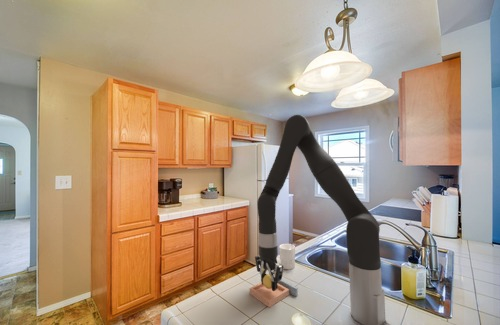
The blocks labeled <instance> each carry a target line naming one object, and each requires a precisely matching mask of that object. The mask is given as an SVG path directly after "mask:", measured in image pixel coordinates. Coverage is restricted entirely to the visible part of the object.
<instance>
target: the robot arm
mask: <svg viewBox="0 0 500 325" xmlns="http://www.w3.org/2000/svg"><path fill="white" fill-rule="evenodd" d="M297 148H298V149H299V150H300V152H301V154H302V155H303V156H304V159H305V161H306V163H307V166H308V168H309V170H310V171H311V173H312V176H313V177H314V179H315V180H316V182H317V183H318V185H319V187H320V188H321V190H322V191H323V192H324V193H325V194H326V195H327V196H328V197H329V198H330V199H331V200H332V201H333V202H334V203H335V204H336V205H337V207H339V209H340V210H341V212H342V213H343V215H344V217H345V219H346V221H347V224H346V232H345V235H346V250H347V255H348V268H349V270H348V274H349V298H350V299H349V300H350V315H351V317H352V318H353V320H355V321H356V322H358V323H359V324H361V325H383V324H384V323H385V322H386V303H385V301H386V298H385V290H384V288H383V287H382V286H383V285H382V284H383V283H382V268H381V267H382V266H381V265H382V262H381V261H382V260H381V253H380V252H381V251H380V250H381V249H380V230H381V229H380V224H379V222H378V220H377V219H376V218H375V217H374V215H373V214H372V213H371V212H370V210H369V209H367V207H366V205H364V203H363V202H362V201H361V200H360V198H359V197H358V196H357V194H356V193H355V190H354V188H353V187H352V186H351V184H350V182H349V180H348V179H347V178H346V176H345V174H344V173H343V171H342V170H341V168H340V167H339V165H338V164H337V162H336V161H335V160H334V158H332V156H331V155H330V154H329V153H328V152H327V151H326V150H325V149H324V148H323V147H322V146H321V144H320V143H319V142H318V139H317V138H316V137H315V135H314V133H313V131H312V128H311V125H310V123H309V121H308V120H307V117H305V116H304V115H302V114H294V115H291V116H290V117H289V118H288V119H287V120H286V122H285V124H284V129H283V132H282V137H281V142H280V145H279V147H278V151H277V152H276V156H275V159H274V160H273V164H272V166H271V169H270V170H269V173H268V175H267V177H266V182H265V185H264V186H263V188H262V191H261V192H260V195H259V197H258V198H257V204H256V205H257V214H258V215H257V216H258V238H257V239H258V241H257V244H258V254H257V255H256V256H254V259H255V266H256V271H257V272H258V273H259V274H260V281H261V282H262V285H263V278H264V276H265V275H267V271H268V274H269V275H270V276H271V279H272V281H271V282H272V291H275V290H276V289H277V288H278V285H277V282H278V281H279V280H281V279H282V280H283V272H284V269H283V265H281V264H279V262H278V260H277V258H278V254H279V252H278V251H279V249H278V248H279V245H278V232H277V220H276V213H277V212H276V208H277V207H276V204H277V200H278V197H279V194H280V192H281V190H282V188H283V187H284V185H285V182H286V180H287V178H288V176H289V173H290V169H291V166H292V162H293V158H294V154H295V152H296V149H297ZM274 276H275V277H274ZM261 282H260V283H261Z"/></svg>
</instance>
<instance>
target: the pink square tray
mask: <svg viewBox="0 0 500 325" xmlns="http://www.w3.org/2000/svg"><path fill="white" fill-rule="evenodd" d="M277 285H278V288H277V289H276V290H275V291H272V288H271V289H267V288H266V287H265V286H264V285H262V282H259V283H257V284H255V285H253V286H252V287H249V295H251V296H252V297H254V298H255V299H256V300H258V301H259V302H261V303H262V304H264V306H265V305H266V306H267V307H268V308H270V307H272V306H274V305H275V304H276V303H278V302H280V301H282V300H283V299H285V298H287V297H288V296H290V293H289V289H287V288H285V287H284V286H282V285H280V284H278V283H277Z"/></svg>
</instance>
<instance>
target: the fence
mask: <svg viewBox="0 0 500 325" xmlns="http://www.w3.org/2000/svg"><path fill="white" fill-rule="evenodd" d="M274 277H275V275H274ZM277 283H278V284H280V285H282V286H284V287H285V288H287V289H289V295H292V296H293V297H298V295H299V294H298V292H299V290H298V287H297V286H295V285H293V284H291V283H290V282H288V281H285V280H284V279H283V278H282V279H281V280H279V281H278V282H277Z"/></svg>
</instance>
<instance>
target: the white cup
mask: <svg viewBox="0 0 500 325" xmlns="http://www.w3.org/2000/svg"><path fill="white" fill-rule="evenodd" d="M278 248H279V249H278V251H279V259H280V260H279V261H280V265H283V270H289V271H290V270H293V269H295V266H296V265H295V264H296V263H295V262H296V246H295V245H294V244H291V243H282V244H280V245H278Z"/></svg>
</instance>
